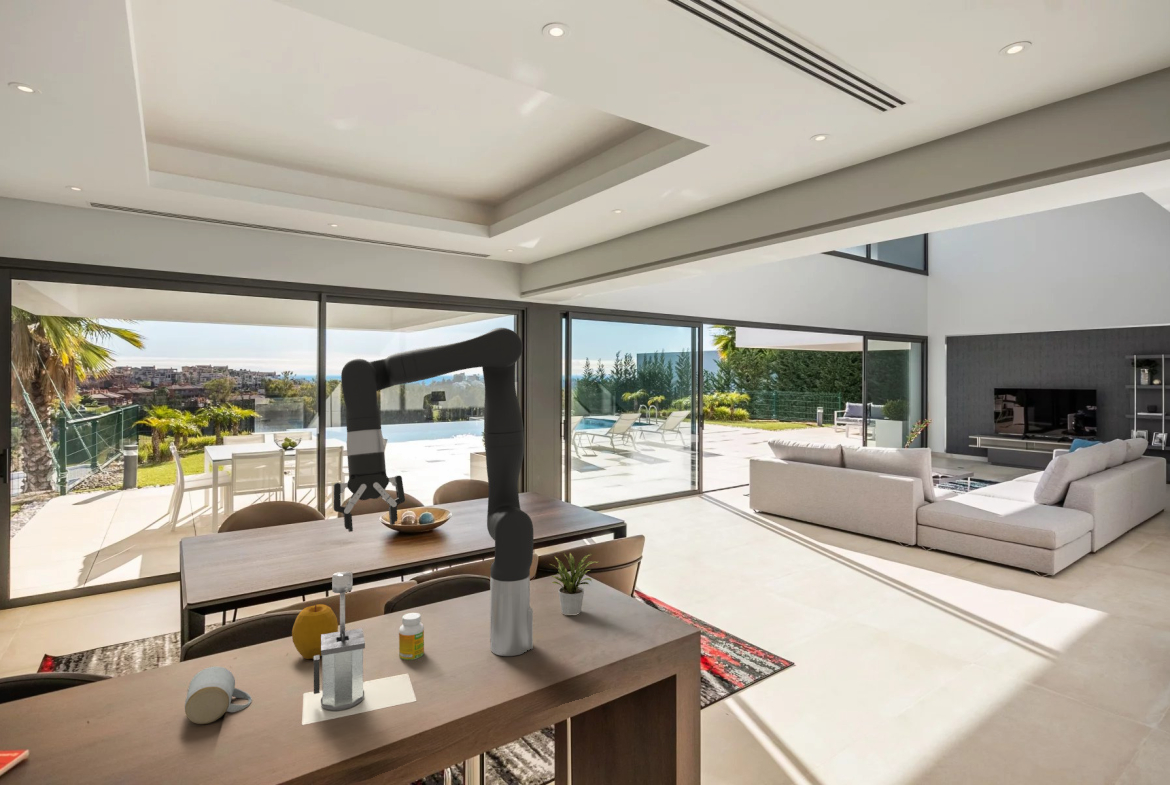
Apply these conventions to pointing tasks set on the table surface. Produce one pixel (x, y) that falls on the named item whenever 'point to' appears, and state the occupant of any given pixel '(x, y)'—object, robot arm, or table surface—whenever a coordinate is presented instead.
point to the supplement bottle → (411, 637)
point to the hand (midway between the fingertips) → (371, 527)
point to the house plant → (571, 585)
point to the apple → (313, 629)
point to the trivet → (375, 697)
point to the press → (340, 670)
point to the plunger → (342, 595)
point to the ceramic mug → (212, 695)
